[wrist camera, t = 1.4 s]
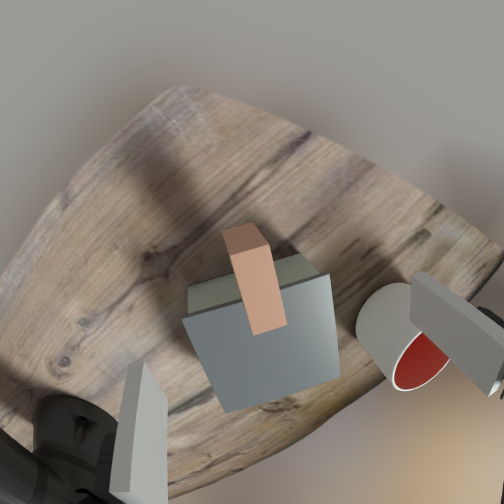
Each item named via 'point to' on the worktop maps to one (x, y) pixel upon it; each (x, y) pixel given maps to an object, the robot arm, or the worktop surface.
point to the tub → (228, 290)
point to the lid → (265, 329)
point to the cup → (397, 339)
